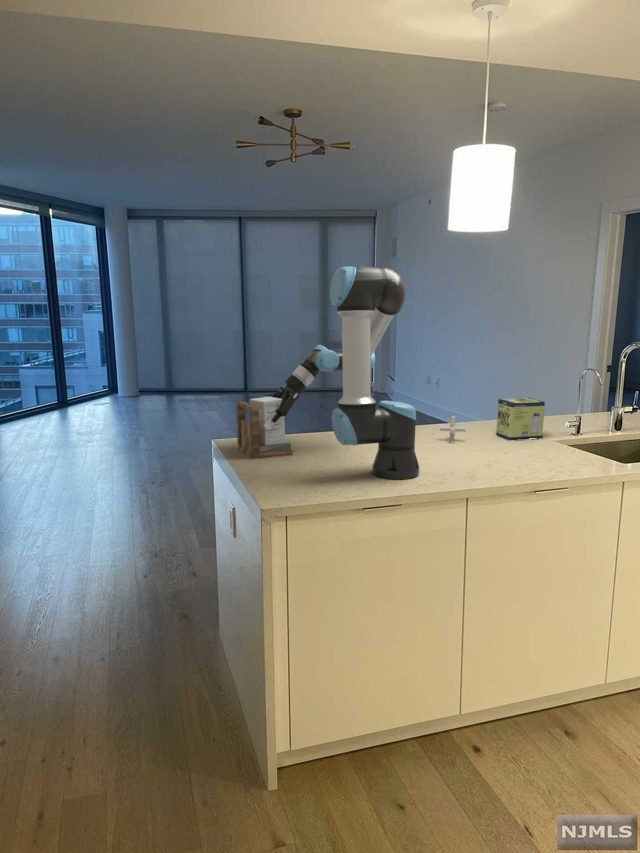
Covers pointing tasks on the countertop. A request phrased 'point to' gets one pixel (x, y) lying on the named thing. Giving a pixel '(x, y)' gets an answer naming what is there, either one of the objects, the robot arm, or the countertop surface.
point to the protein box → (520, 418)
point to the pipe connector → (452, 428)
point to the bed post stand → (255, 435)
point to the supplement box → (265, 412)
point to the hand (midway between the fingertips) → (260, 425)
